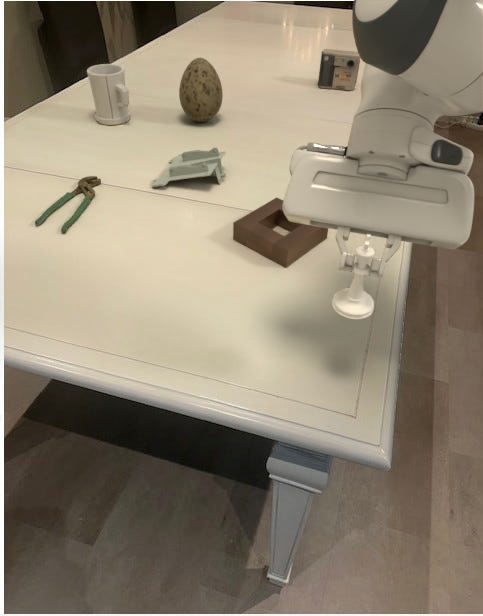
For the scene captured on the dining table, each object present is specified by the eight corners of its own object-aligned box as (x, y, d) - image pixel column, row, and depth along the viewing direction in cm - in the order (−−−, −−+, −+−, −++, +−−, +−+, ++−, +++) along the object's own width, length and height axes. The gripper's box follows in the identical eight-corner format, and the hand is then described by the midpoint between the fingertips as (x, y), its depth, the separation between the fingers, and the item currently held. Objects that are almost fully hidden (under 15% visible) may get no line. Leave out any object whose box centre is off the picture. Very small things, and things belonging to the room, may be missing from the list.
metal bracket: (230, 138, 103) (207, 170, 92) (236, 164, 106) (216, 197, 96) (171, 148, 108) (143, 178, 97) (179, 172, 112) (154, 204, 101)
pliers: (64, 235, 86) (63, 229, 85) (32, 229, 87) (30, 223, 86) (113, 183, 100) (112, 177, 99) (84, 178, 101) (83, 172, 100)
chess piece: (375, 296, 59) (394, 227, 52) (370, 323, 55) (390, 253, 49) (335, 288, 60) (349, 219, 53) (328, 314, 57) (341, 244, 50)
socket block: (326, 238, 87) (329, 221, 84) (286, 267, 80) (287, 250, 78) (275, 213, 93) (276, 197, 90) (233, 239, 86) (233, 222, 84)
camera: (315, 88, 145) (320, 51, 138) (319, 82, 149) (323, 46, 142) (353, 92, 142) (360, 55, 136) (356, 86, 146) (362, 50, 140)
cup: (140, 113, 127) (135, 65, 119) (131, 127, 121) (124, 77, 112) (102, 111, 128) (93, 62, 120) (90, 125, 121) (81, 74, 113)
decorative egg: (204, 132, 119) (202, 67, 109) (172, 121, 124) (167, 58, 114) (231, 119, 126) (231, 57, 115) (199, 109, 130) (197, 48, 120)
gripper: (293, 128, 53) (266, 251, 53) (490, 155, 49) (462, 288, 48) (297, 150, 59) (273, 260, 59) (473, 175, 55) (448, 293, 55)
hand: (360, 273), depth 54 cm, fingers closed on chess piece
